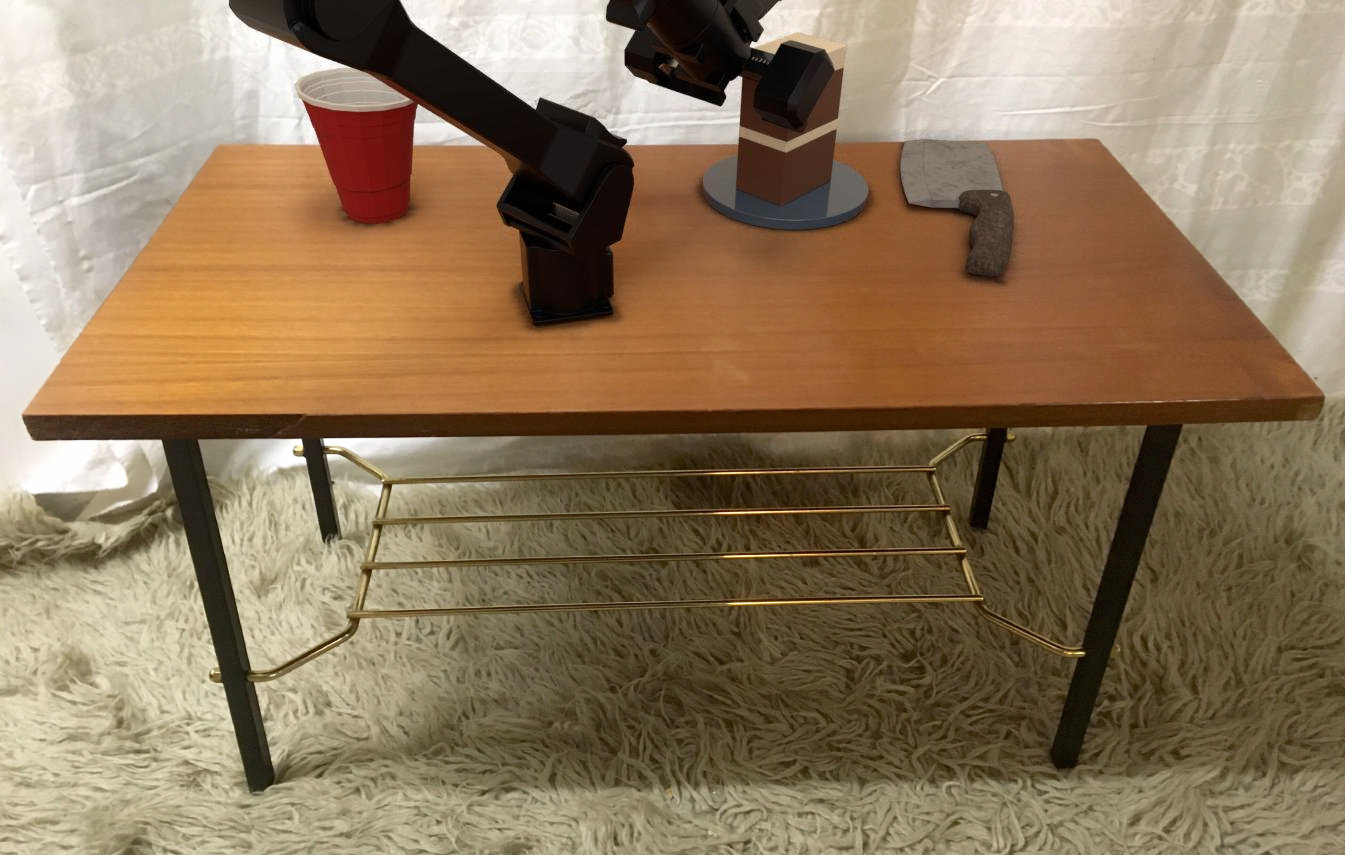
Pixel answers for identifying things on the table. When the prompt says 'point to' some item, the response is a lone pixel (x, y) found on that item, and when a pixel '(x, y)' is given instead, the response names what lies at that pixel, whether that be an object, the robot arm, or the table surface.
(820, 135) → the cake slice
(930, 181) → the cleaver
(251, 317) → the table surface
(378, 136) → the plastic cup
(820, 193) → the plate
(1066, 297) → the table surface
